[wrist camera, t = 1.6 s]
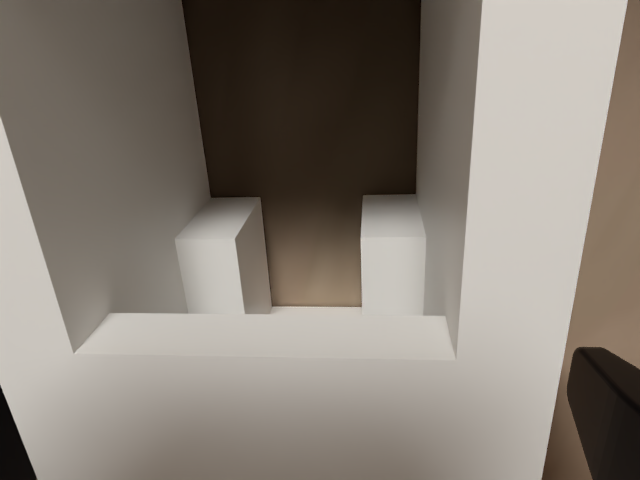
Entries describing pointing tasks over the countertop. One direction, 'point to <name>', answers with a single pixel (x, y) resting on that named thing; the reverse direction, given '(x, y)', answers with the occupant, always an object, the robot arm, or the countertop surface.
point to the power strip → (252, 269)
